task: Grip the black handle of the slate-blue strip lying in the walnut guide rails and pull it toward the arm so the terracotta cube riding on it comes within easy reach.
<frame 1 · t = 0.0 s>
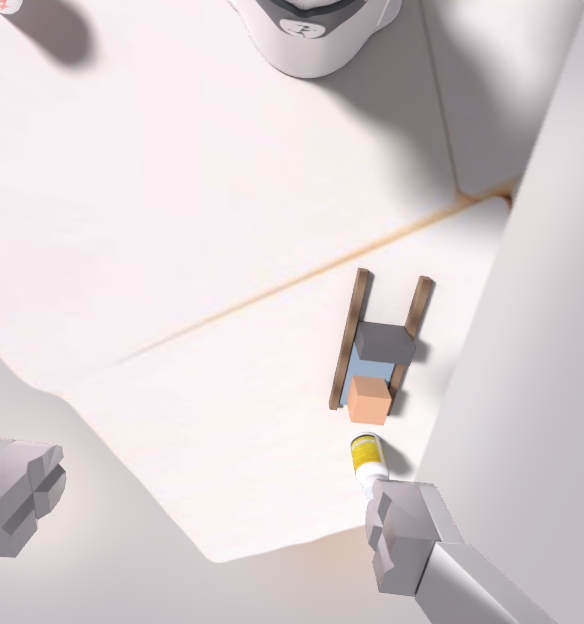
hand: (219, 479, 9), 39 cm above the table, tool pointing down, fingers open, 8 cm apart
terracotta cube: (364, 389, 54), point 1 cm above the table, touching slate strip
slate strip: (372, 376, 50), point 3 cm above the table, slide at 0.0 cm, touching terracotta cube
guide rails: (373, 345, 52), on the table
supplement bottle: (364, 441, 60), on the table
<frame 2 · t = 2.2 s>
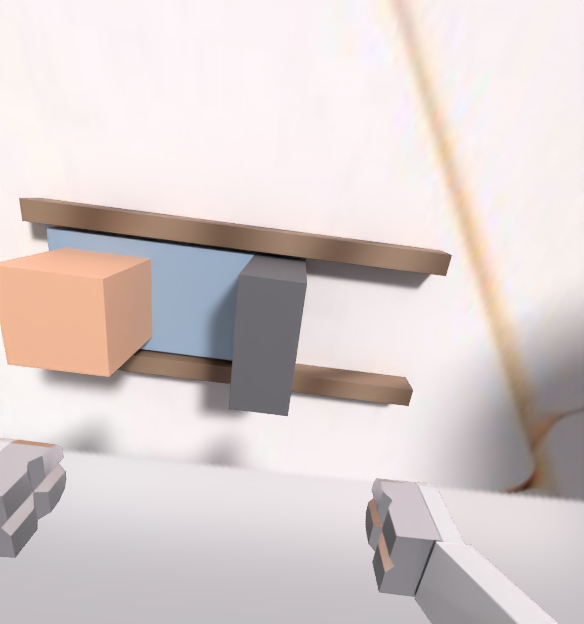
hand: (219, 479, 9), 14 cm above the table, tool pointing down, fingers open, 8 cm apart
terracotta cube: (110, 293, 20), point 1 cm above the table, touching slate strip
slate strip: (163, 313, 18), point 3 cm above the table, slide at 0.0 cm, touching terracotta cube
guide rails: (236, 303, 21), on the table
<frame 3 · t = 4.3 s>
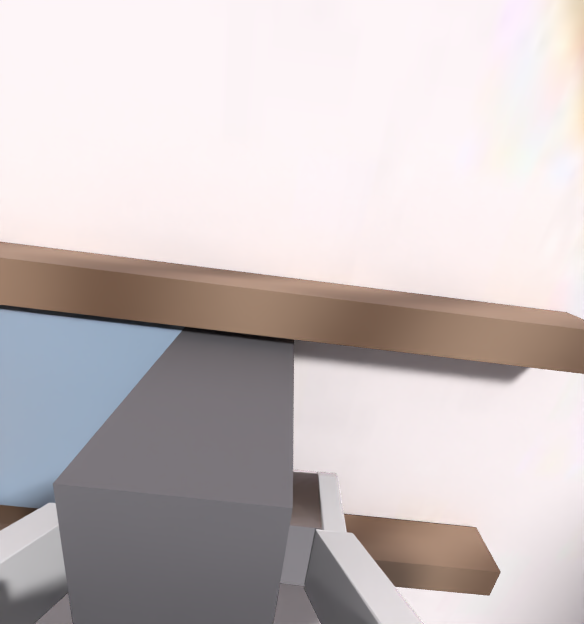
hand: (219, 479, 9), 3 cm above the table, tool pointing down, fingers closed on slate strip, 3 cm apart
guide rails: (161, 409, 11), on the table
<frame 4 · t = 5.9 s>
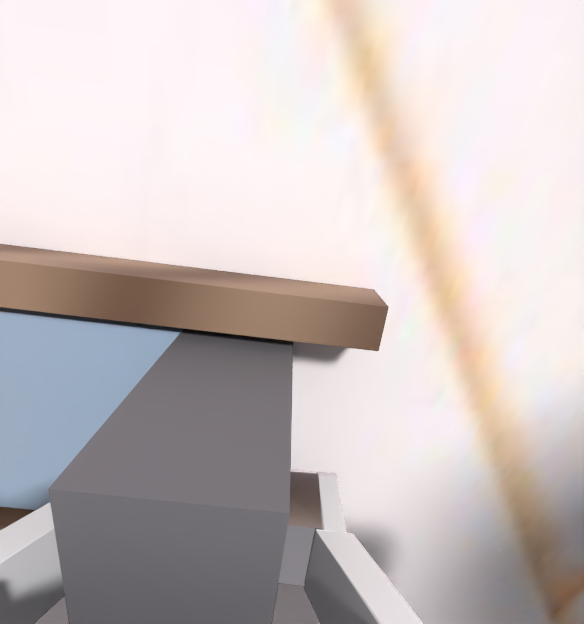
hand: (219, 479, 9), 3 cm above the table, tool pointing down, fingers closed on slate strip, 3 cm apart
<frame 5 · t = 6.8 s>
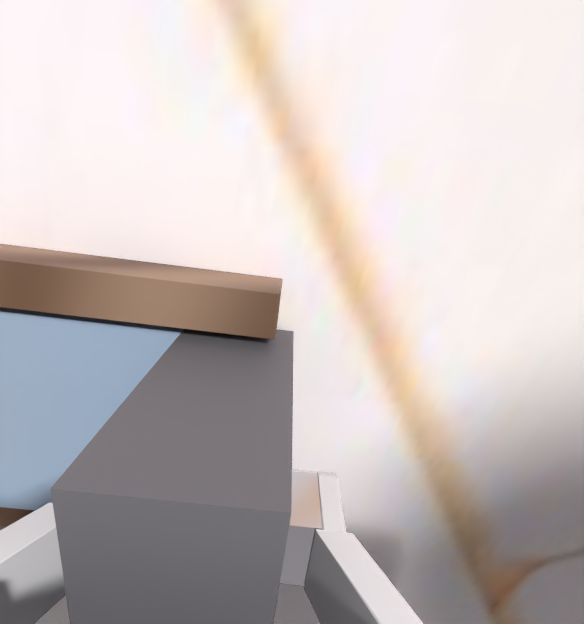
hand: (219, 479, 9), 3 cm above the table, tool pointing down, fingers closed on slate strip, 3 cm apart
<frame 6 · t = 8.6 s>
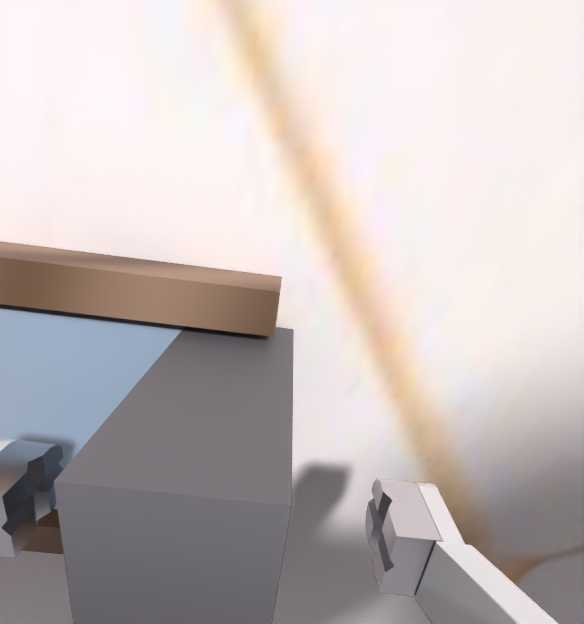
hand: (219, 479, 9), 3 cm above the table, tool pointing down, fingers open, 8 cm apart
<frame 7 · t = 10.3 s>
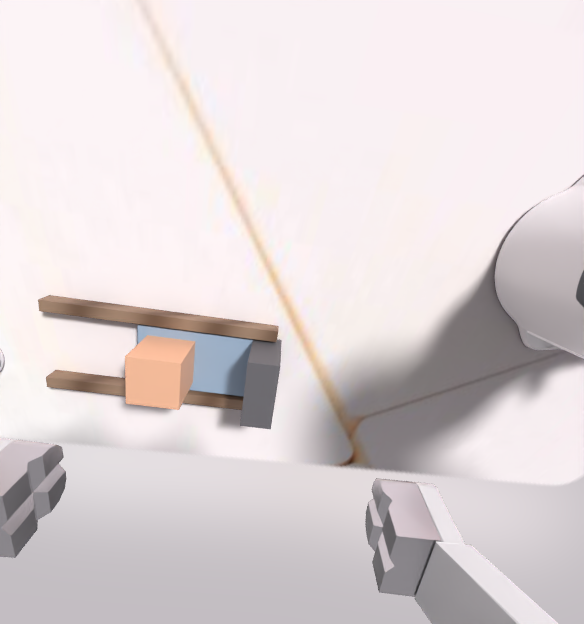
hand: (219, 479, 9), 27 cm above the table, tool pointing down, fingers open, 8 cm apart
terracotta cube: (170, 359, 36), point 1 cm above the table, touching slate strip
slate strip: (203, 373, 34), point 3 cm above the table, slide at 8.5 cm, touching terracotta cube
guide rails: (164, 353, 37), on the table
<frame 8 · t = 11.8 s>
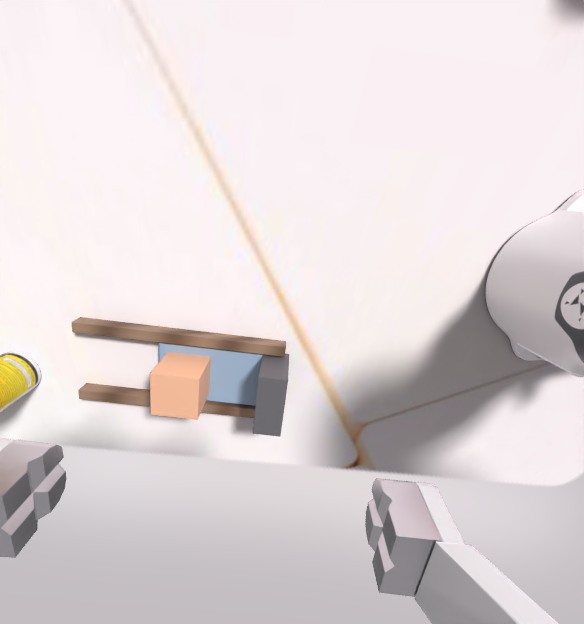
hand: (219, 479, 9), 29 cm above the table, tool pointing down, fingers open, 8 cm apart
terracotta cube: (189, 373, 39), point 1 cm above the table, touching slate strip
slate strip: (219, 386, 38), point 3 cm above the table, slide at 8.5 cm, touching terracotta cube
guide rails: (183, 367, 40), on the table
supplement bottle: (21, 369, 41), on the table
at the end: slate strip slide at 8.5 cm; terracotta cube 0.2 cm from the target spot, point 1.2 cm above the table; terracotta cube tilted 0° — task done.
